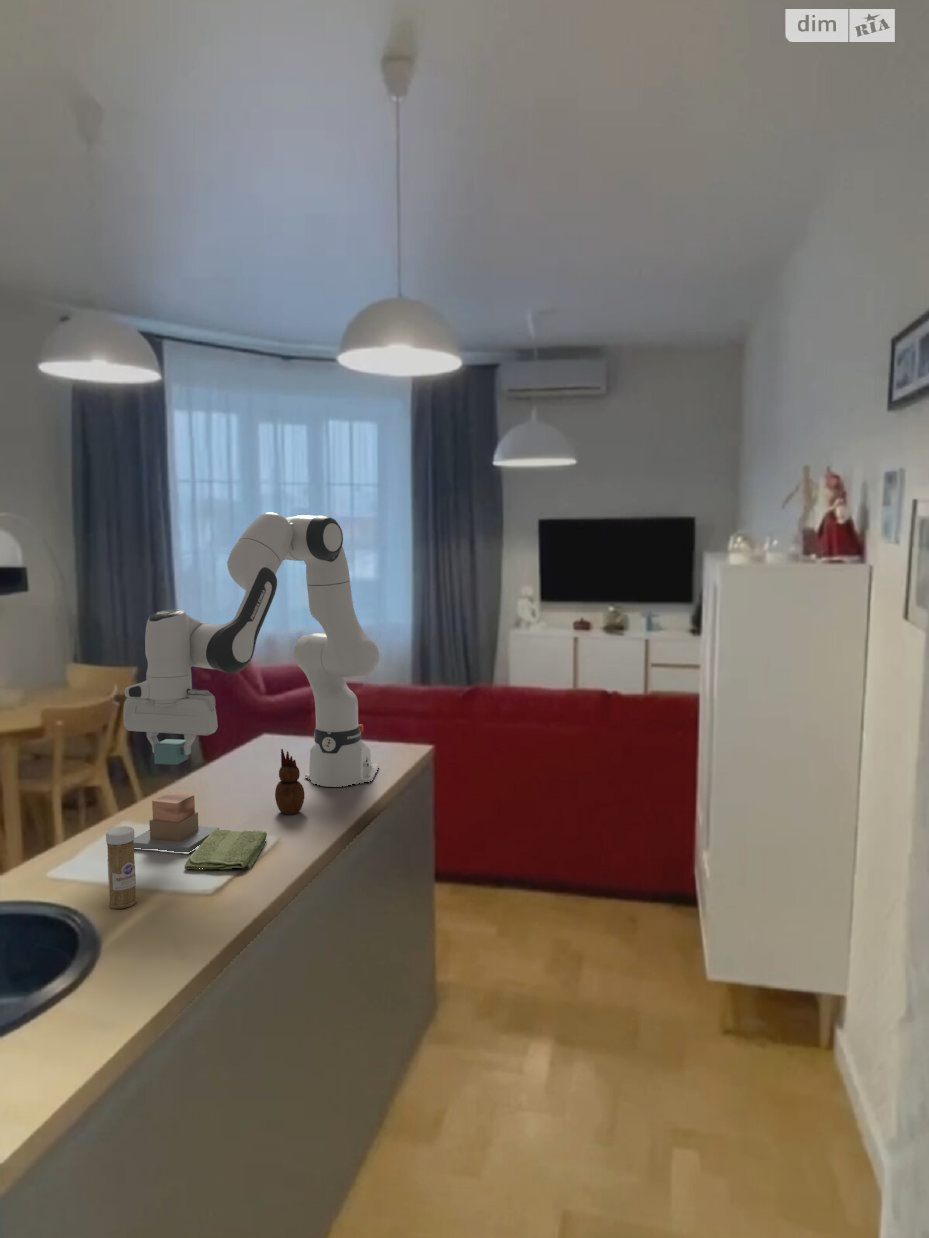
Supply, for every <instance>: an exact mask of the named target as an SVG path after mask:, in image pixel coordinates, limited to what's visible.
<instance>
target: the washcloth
mask: <svg viewBox="0 0 929 1238" xmlns="http://www.w3.org/2000/svg"><path fill="white" fill-rule="evenodd" d="M267 836H268V834H267V831H266V830H265V831H263V830H261V831H260V830H243V831H239V830H230V829H220V828H219V829H215V830H212V832H211V833H210V834H209V835H208V837H207V838H206V839H205V840H204V842H203V843H202V844H201V845H200V846H199V848H198V849H197V850H195V851H194V852H192V853H191V854H190V856H189V858H187V861H186V862H185V864H184V866H183V867H184V869H185V870H189V869H199V868H200V869H202V868H203V869H220V870H230V869H231V870H233V869H232V868H243V869H242V870H251V869H252V868H253V865H254V864H255V863H256V861H257V859H258V857H259V856H258V855H260V854H261V851H262V850H263V848H264V846H265V844H266V842H265V840H266V841H267ZM263 845H264V846H263ZM262 847H263V848H262ZM261 849H262V850H261ZM260 850H261V851H260ZM259 853H260V854H259ZM257 856H258V857H257Z"/></svg>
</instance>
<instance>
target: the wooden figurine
mask: <svg viewBox="0 0 929 1238" xmlns="http://www.w3.org/2000/svg"><path fill="white" fill-rule="evenodd" d="M280 753H281V754H280V757H281V759H280V762H281V764H280V765H281V766H280V768H279V771H278V777H279V780H280V781H279V782H278V783H277V784H276V786H275V791H274V796H275V797H274V798H275V803H276V806H277V808H278V810H279V811H280V812H281V813H282V814H284V815H295V814H298V813H299V812H301V810H302V807H303V804H304V802H305V789H304V785H303V784H302V783H301V782H300V781H299V778H300V773H301V772H300V769H299V766H297V762H296V759H293V756H292V755H291V756H290V753H289V751H286V755H285V752H284V749H283V748H281V750H280Z"/></svg>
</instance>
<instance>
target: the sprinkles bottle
mask: <svg viewBox="0 0 929 1238" xmlns="http://www.w3.org/2000/svg"><path fill="white" fill-rule="evenodd" d="M134 838H136V837H135V828H133V827H132V826H127V825H126V826H117V827H113V828H110V829H108V830H107V831H106V832H105V842H106V845H107V877H108V878H107V881H108V889H109V890H108V891H109V907H110V908H111V909H114V910H115V909H116V910H120V909H127V908H130V907H132V906H134V905H135V904H136V903H137V901H138V898H137V893H136V884H137V882H136V881H137V880H136V877H137V876H136V864H135V860H136V859H135V850H134V843H133V842H134Z"/></svg>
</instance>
